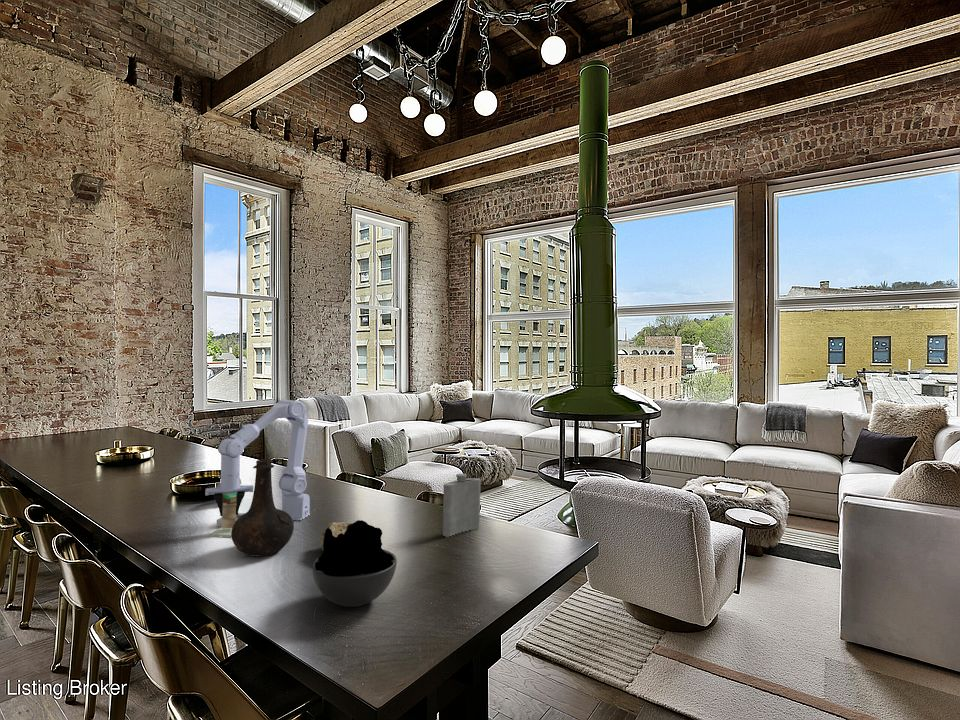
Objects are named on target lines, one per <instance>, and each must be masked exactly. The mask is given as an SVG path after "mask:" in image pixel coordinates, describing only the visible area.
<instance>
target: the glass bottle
mask: <svg viewBox="0 0 960 720" xmlns="http://www.w3.org/2000/svg"><path fill="white" fill-rule="evenodd" d="M272 462H273V459H271V458H267V459H266V458H263V459H258V460H256V462H255V463H256V465H254V466H253V467H252V468H253V469H255V478H254V479H255V480H254V486H253V495H252V498H251V499H252V500H251V504H250V507H249V509H248V510H247V511H246V512H245V514H243V515H242V516H240V517H239V518H238V519H237V520H236V522H235V523H234V525H233V528H232V532H231V537H232V538H231V537H230V538H231V540H232V542H233V545H234V546H235V548H236V549H237V550H238V551H240V553H242V554H244V555H247V556H251V557H262V556H263V557H264V556H269V555H273V554H274V553H275V554H276V553H277V552H279V551H281V550H283V548H284V547H286V545H287V544H288V543H289V541H290V540H291V538H292V536H293V534H294V530H295V524H294V520H292V518H291V516H290V515H289V514H288V513H286V512H285V511H283V510H282V509H279V508H277V507H276V505H275V502H274V495H273V482H272V480H273V479H272V469H274V467H275V465H274V464H272Z"/></svg>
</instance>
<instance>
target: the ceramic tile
mask: <svg viewBox="0 0 960 720" xmlns="http://www.w3.org/2000/svg"><path fill="white" fill-rule="evenodd" d="M231 532H232V528H226V529H222V527H218V528H217V529H216V530H213V531H212V532H209V533H208V537H215V536H222V537H221V538H231Z"/></svg>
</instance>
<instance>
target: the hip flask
mask: <svg viewBox="0 0 960 720" xmlns="http://www.w3.org/2000/svg"><path fill="white" fill-rule="evenodd" d="M455 477H456V480H455V481H450V482H446V483H444V484H443V496H442V497H443V499H442V500H443V505H442V506H443V507H442V508H443V510H442V537H443V536H445V537H444V538H450V537H449V536H451V537H453V536H452V535H454V536H456V535H455V534H457V535H459V534H458V533H460V534H462V533H461V532H463V533H466V532H465V531H467V532H470V531H469V530H471V531H476V530H475V529H477V530H480V528H481V525H480V524H481V519H480V518H481V478H478V477H474V478H472V477H471V478H470V477H469V478H467V474H466V473H456V475H455Z"/></svg>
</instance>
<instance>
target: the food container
mask: <svg viewBox="0 0 960 720" xmlns="http://www.w3.org/2000/svg"><path fill="white" fill-rule="evenodd" d="M239 485H242V479H241V478H240V477H239ZM216 487H221V482H217V485H216ZM236 495H237V493H226V494H223V505H227V504H236Z"/></svg>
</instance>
